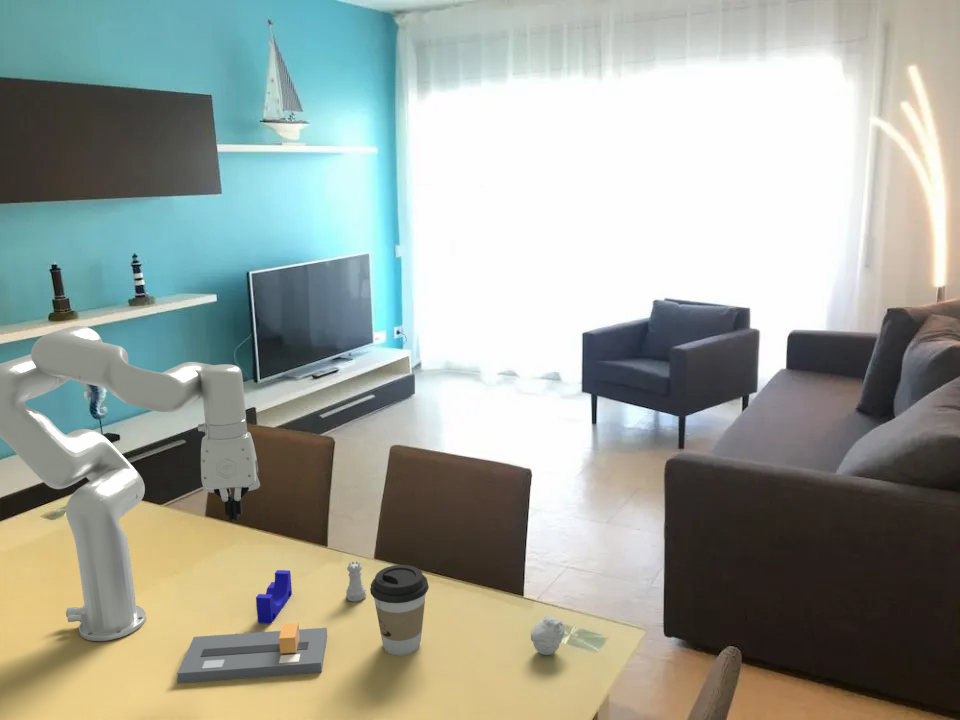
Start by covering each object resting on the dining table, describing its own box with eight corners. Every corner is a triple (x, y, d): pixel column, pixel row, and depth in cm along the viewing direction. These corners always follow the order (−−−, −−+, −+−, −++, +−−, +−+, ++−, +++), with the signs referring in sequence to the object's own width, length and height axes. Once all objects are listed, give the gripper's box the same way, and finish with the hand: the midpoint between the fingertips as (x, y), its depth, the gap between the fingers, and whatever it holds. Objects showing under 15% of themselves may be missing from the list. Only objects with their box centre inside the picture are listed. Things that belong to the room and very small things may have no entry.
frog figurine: (571, 654, 151) (571, 621, 150) (542, 666, 147) (542, 632, 146) (552, 639, 156) (552, 607, 155) (523, 650, 152) (523, 618, 151)
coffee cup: (362, 642, 156) (358, 573, 153) (410, 623, 163) (408, 556, 159) (392, 669, 147) (388, 597, 144) (442, 647, 154) (439, 577, 151)
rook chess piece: (357, 604, 170) (355, 570, 169) (341, 599, 173) (339, 565, 171) (370, 595, 174) (368, 562, 172) (355, 590, 176) (353, 557, 175)
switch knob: (280, 653, 149) (278, 638, 148) (283, 638, 154) (282, 624, 153) (296, 652, 149) (295, 637, 148) (299, 637, 154) (298, 623, 153)
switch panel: (178, 682, 144) (177, 672, 144) (194, 645, 156) (193, 636, 156) (321, 672, 147) (320, 662, 146) (327, 636, 158) (326, 627, 158)
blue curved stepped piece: (272, 594, 176) (270, 569, 174) (292, 595, 175) (290, 570, 174) (251, 623, 164) (248, 597, 163) (271, 624, 164) (269, 598, 162)
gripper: (181, 436, 147) (190, 527, 151) (262, 433, 148) (270, 523, 152) (191, 424, 154) (200, 512, 158) (269, 421, 156) (275, 507, 160)
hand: (234, 517), depth 155 cm, fingers closed
